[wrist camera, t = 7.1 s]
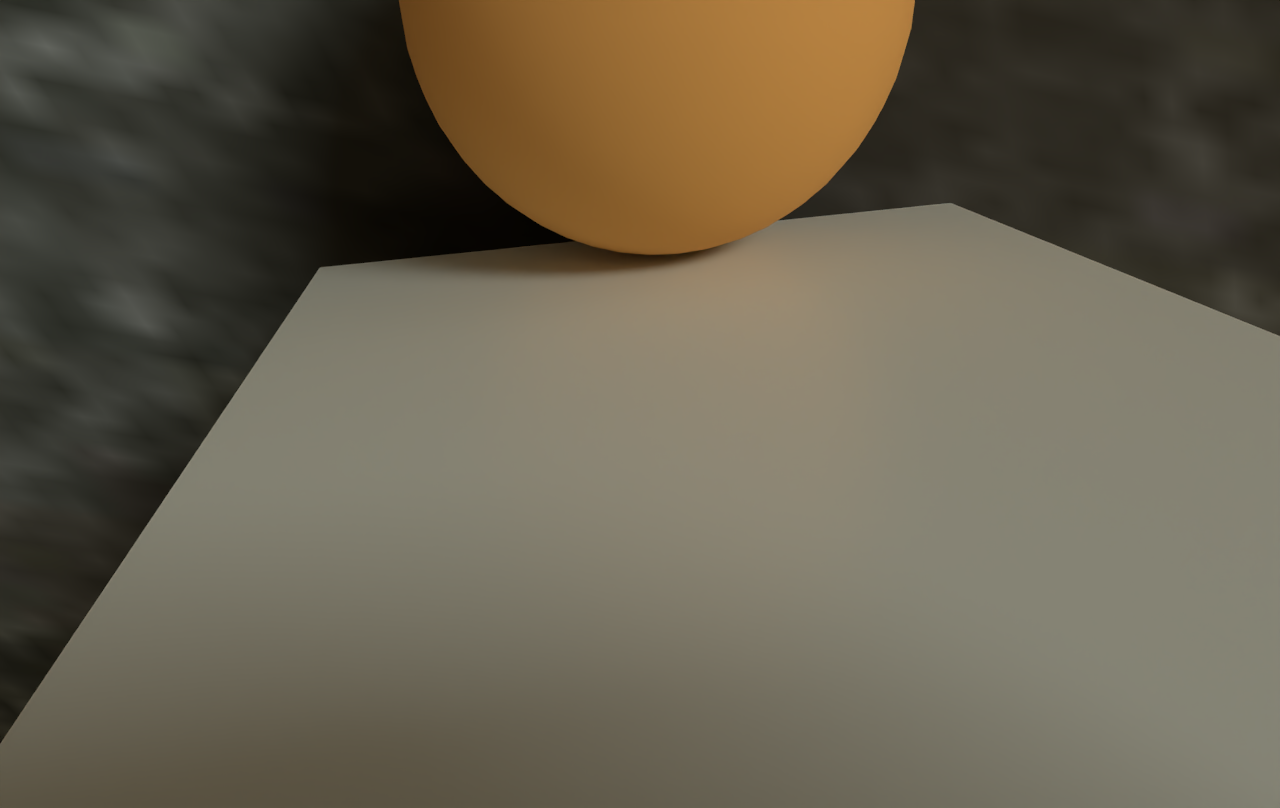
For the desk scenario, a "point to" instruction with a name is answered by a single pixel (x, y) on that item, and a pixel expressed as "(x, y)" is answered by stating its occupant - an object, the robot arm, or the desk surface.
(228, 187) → the desk surface
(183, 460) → the desk surface
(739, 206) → the ball
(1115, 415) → the plain beige cube
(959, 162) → the desk surface
